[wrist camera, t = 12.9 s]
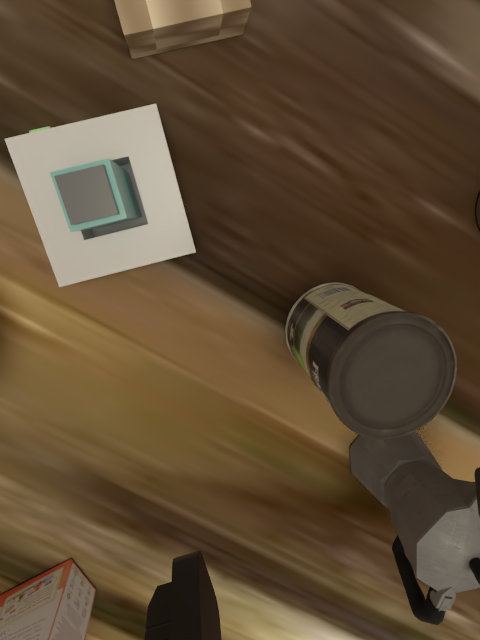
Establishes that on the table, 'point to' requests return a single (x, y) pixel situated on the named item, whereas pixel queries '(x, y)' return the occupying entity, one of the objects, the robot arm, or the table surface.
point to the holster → (179, 23)
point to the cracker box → (48, 606)
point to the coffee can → (372, 359)
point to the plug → (95, 195)
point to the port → (147, 179)
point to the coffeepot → (423, 519)
